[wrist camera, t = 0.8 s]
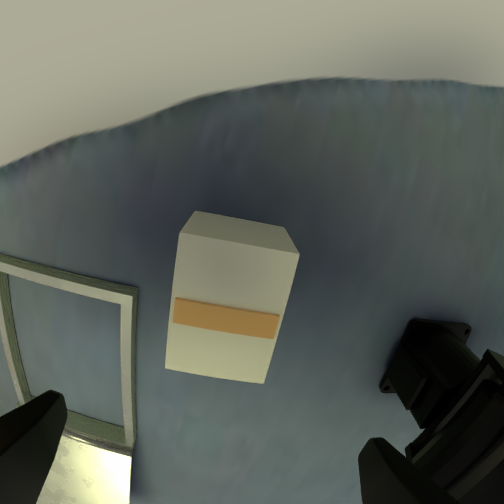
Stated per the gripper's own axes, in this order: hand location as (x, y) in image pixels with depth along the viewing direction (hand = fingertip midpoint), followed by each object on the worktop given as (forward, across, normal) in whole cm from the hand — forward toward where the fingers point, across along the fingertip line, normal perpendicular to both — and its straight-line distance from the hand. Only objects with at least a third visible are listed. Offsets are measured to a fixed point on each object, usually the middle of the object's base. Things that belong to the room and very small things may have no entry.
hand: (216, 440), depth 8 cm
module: (+12, 0, 0) cm, 12 cm away
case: (+12, +11, +15) cm, 22 cm away
